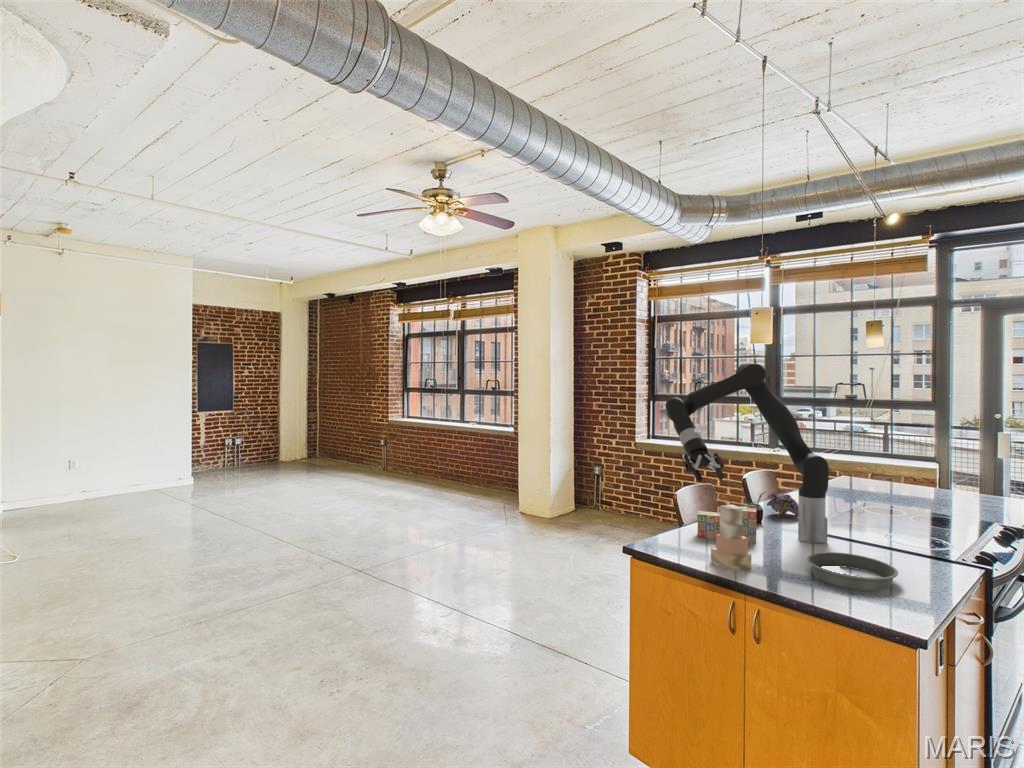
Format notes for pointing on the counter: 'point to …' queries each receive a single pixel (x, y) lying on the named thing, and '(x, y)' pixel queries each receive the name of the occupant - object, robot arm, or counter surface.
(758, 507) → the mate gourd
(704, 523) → the stack of blocks
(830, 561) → the cake pan
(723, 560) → the tower base
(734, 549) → the tower top
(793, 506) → the decorative flower
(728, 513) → the pillar
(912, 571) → the counter surface
